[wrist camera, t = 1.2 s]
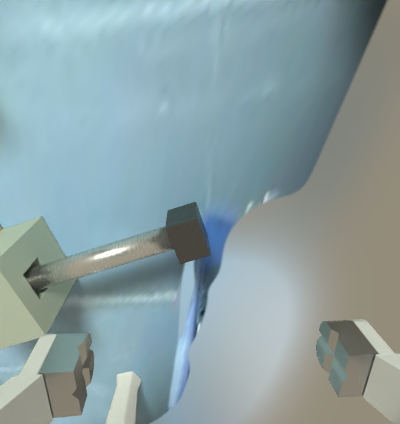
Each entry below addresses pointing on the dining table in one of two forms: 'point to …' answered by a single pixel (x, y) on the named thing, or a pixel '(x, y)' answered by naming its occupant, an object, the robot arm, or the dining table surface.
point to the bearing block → (19, 287)
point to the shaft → (130, 250)
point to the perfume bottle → (124, 399)
